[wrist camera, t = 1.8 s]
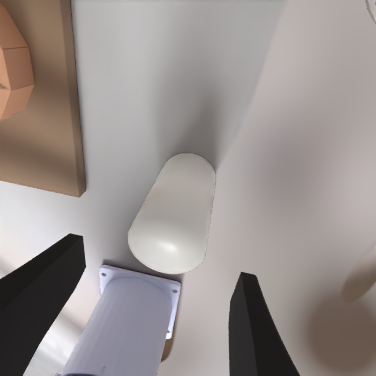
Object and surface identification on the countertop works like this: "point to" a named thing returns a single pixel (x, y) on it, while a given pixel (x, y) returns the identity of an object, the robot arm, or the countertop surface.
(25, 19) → the holder board
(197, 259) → the white tube
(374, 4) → the energy drink
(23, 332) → the robot arm
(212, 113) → the countertop surface
